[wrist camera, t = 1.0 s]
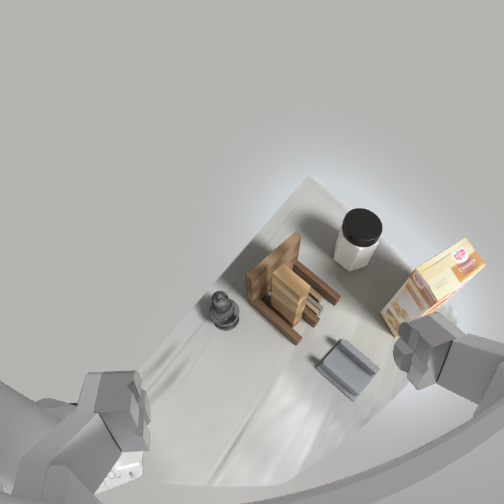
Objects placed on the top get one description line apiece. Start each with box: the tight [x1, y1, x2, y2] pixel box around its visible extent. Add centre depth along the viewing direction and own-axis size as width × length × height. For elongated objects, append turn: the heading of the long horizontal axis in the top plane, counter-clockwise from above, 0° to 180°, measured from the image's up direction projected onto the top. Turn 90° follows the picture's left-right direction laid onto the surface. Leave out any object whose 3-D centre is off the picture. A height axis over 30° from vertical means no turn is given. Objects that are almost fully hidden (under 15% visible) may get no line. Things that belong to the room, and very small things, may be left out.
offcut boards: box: [305, 288, 323, 316], centre depth 65 cm, size 3×10×4 cm, turn 44°
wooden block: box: [271, 263, 311, 328], centre depth 57 cm, size 2×6×16 cm, turn 44°
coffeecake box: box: [380, 238, 485, 338], centre depth 55 cm, size 15×7×20 cm, turn 114°
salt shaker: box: [209, 291, 239, 331], centre depth 59 cm, size 6×6×12 cm
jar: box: [334, 208, 382, 272], centre depth 66 cm, size 9×8×12 cm
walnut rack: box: [246, 232, 341, 345], centre depth 61 cm, size 13×13×12 cm
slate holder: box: [316, 339, 379, 401], centre depth 56 cm, size 8×10×4 cm
